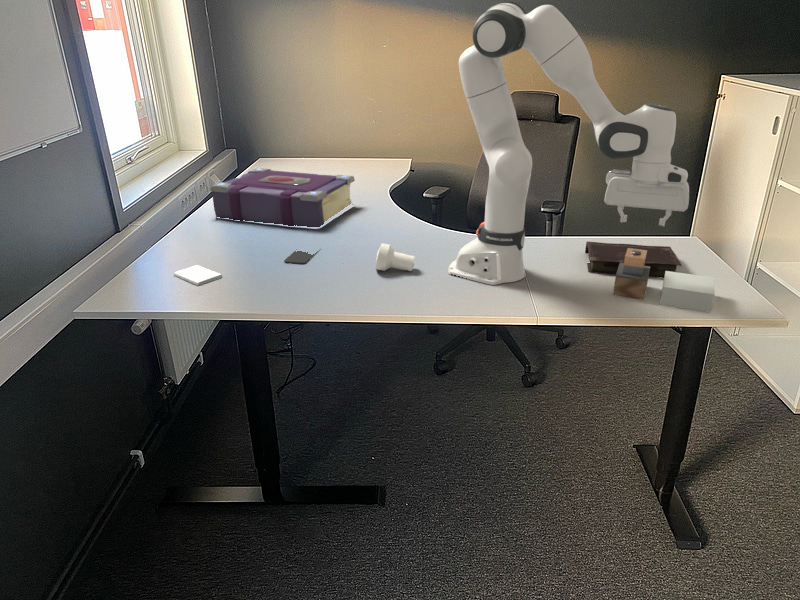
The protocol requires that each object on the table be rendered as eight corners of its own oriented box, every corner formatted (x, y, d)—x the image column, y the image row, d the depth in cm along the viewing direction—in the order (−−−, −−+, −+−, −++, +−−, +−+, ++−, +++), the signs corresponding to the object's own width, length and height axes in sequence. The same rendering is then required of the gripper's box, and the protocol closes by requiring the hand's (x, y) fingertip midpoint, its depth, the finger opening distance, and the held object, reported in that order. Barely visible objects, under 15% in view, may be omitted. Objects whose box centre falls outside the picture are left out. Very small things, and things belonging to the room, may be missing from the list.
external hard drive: (198, 287, 172) (174, 277, 180) (222, 279, 178) (198, 269, 185) (197, 282, 172) (173, 272, 179) (222, 273, 177) (197, 264, 185)
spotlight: (377, 259, 187) (381, 237, 182) (413, 267, 186) (418, 245, 181) (372, 273, 180) (376, 251, 175) (409, 282, 180) (414, 260, 175)
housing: (622, 273, 163) (625, 254, 160) (625, 264, 168) (628, 246, 166) (642, 276, 161) (645, 257, 159) (644, 267, 167) (647, 249, 164)
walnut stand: (612, 295, 164) (615, 274, 162) (616, 282, 173) (619, 262, 170) (644, 300, 161) (647, 279, 159) (646, 286, 170) (650, 266, 167)
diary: (584, 254, 195) (586, 239, 193) (667, 260, 190) (670, 244, 188) (588, 275, 179) (590, 259, 177) (679, 281, 174) (682, 265, 172)
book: (317, 232, 216) (314, 193, 210) (211, 220, 230) (205, 183, 224) (355, 207, 244) (354, 172, 238) (258, 197, 258) (255, 164, 252)
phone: (321, 247, 200) (305, 263, 186) (321, 249, 200) (305, 265, 187) (300, 245, 201) (282, 261, 188) (300, 248, 202) (282, 263, 188)
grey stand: (659, 304, 159) (663, 286, 157) (662, 287, 169) (665, 270, 167) (710, 312, 155) (714, 294, 153) (709, 294, 165) (713, 277, 162)
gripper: (605, 171, 155) (599, 223, 160) (693, 177, 147) (683, 231, 153) (608, 165, 160) (602, 216, 166) (694, 171, 152) (684, 224, 158)
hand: (642, 223), depth 159 cm, fingers open, 8 cm apart
